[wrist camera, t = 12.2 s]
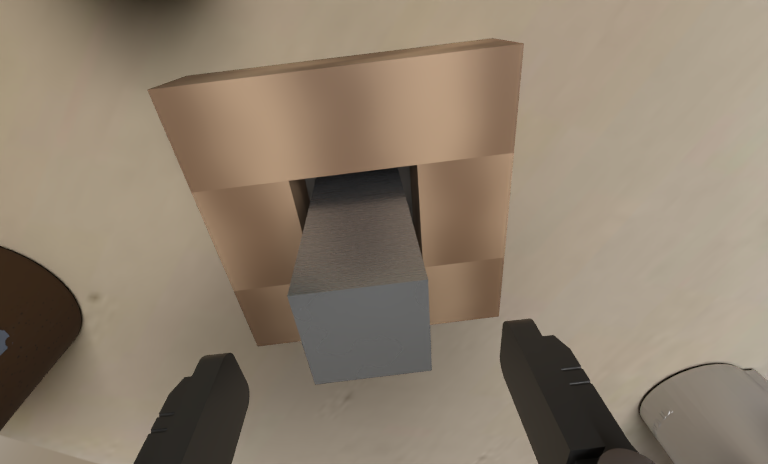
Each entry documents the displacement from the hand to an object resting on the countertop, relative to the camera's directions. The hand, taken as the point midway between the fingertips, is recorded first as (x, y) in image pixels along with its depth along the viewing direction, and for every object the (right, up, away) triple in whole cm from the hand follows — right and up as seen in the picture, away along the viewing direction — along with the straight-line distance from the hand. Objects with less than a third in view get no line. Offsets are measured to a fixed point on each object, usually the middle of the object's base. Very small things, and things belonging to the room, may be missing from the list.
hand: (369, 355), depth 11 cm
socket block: (-1, +6, +9) cm, 11 cm away
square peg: (-1, +6, +9) cm, 11 cm away
